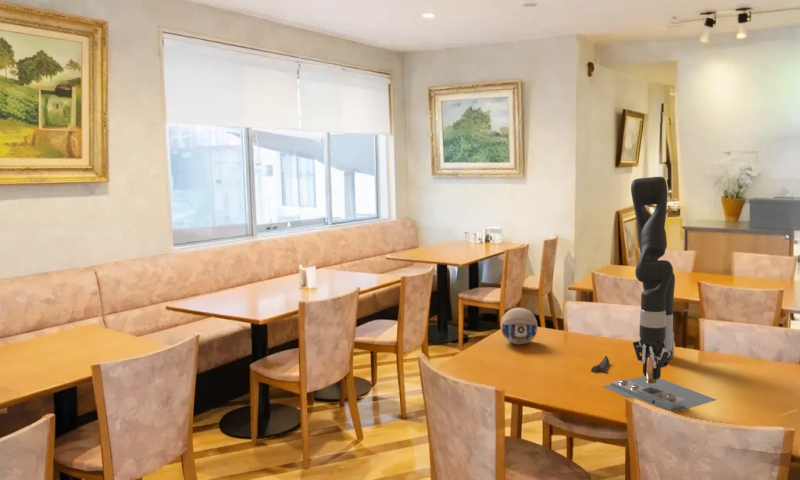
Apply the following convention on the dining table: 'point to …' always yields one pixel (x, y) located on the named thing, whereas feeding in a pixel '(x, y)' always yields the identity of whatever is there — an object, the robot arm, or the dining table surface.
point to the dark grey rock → (601, 366)
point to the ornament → (519, 326)
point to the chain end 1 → (631, 388)
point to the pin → (649, 371)
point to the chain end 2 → (662, 398)
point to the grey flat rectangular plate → (682, 392)
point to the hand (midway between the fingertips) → (651, 376)
